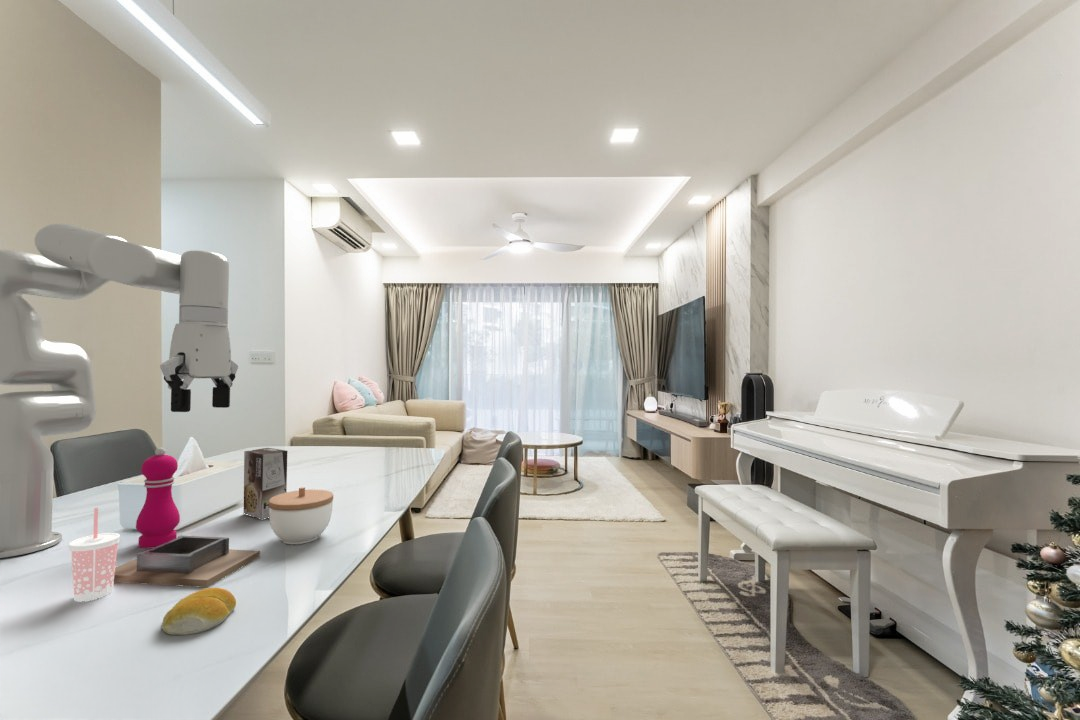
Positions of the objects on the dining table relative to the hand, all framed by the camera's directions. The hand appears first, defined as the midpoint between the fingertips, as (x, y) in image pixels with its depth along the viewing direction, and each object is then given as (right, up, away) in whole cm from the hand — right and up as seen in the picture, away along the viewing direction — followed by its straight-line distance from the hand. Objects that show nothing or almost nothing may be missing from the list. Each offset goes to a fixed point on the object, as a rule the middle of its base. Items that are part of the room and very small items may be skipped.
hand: (201, 409), depth 89 cm
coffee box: (-6, -30, +31) cm, 44 cm away
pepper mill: (-17, -30, +11) cm, 36 cm away
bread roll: (+13, -29, -19) cm, 37 cm away
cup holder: (-2, -29, -1) cm, 29 cm away
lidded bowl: (+11, -30, +14) cm, 35 cm away
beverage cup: (-9, -29, -12) cm, 33 cm away
